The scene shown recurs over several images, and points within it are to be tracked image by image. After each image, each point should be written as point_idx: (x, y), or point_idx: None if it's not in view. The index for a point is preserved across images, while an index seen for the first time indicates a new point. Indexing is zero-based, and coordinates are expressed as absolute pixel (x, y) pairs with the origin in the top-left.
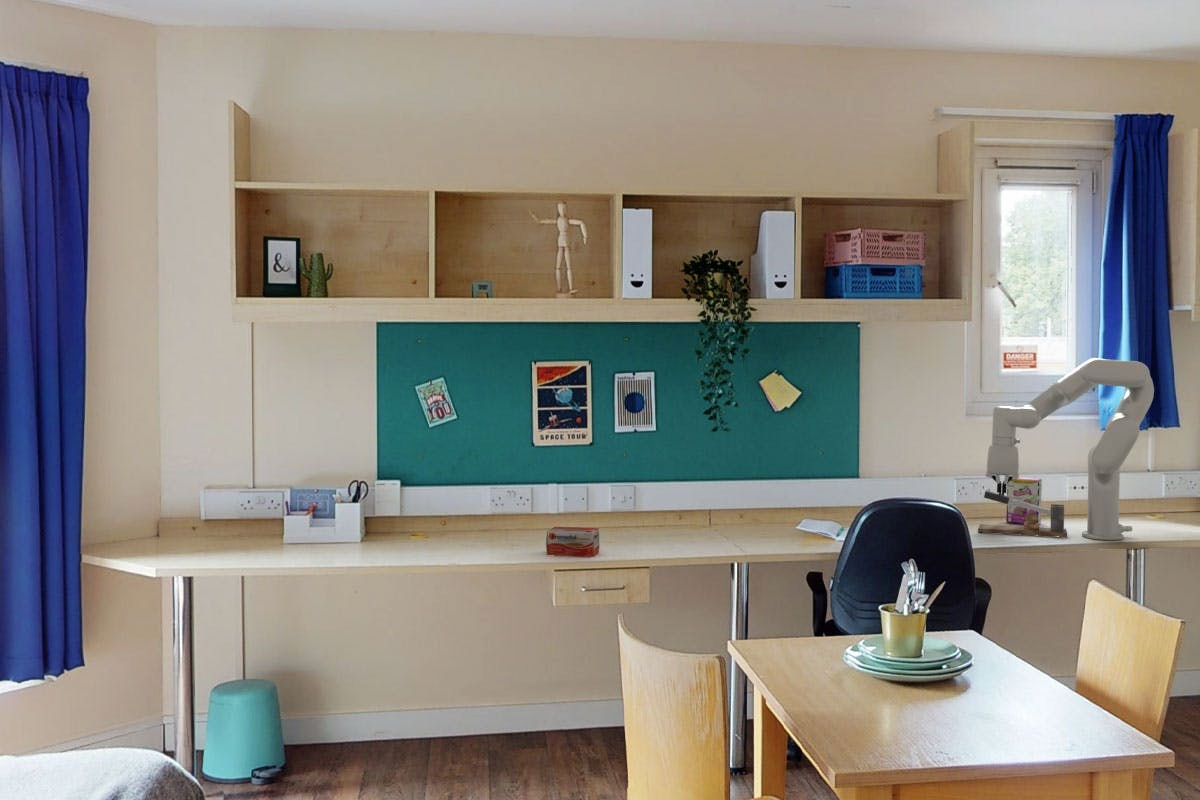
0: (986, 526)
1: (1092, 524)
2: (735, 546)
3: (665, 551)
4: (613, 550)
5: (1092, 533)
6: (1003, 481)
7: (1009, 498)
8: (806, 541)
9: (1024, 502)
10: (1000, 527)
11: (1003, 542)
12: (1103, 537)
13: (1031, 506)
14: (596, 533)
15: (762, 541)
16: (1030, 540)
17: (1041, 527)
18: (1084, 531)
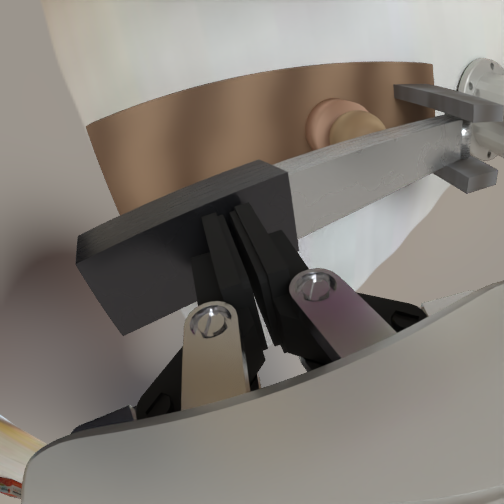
0: (138, 173)
1: (499, 150)
2: (20, 463)
3: (21, 475)
4: (6, 475)
5: (479, 141)
6: (291, 334)
7: (289, 201)
8: (20, 441)
9: (374, 156)
10: (203, 160)
11: (266, 332)
12: (486, 159)
13: (397, 185)
14: (17, 495)
15: (4, 447)
16: (331, 264)
17: (362, 66)
18: (466, 86)
